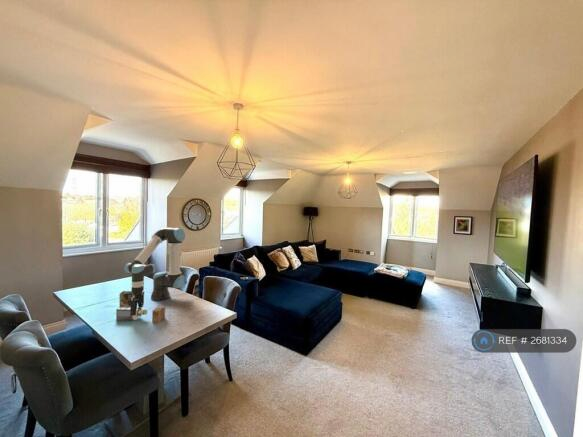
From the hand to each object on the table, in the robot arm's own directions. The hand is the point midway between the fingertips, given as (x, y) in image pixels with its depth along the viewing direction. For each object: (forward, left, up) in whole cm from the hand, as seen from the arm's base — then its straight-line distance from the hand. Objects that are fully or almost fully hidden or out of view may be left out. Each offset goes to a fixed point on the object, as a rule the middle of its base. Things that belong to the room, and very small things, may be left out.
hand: (137, 317), depth 178 cm
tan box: (0, +16, -2) cm, 16 cm away
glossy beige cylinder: (0, -2, +2) cm, 3 cm away
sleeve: (0, -8, -2) cm, 8 cm away
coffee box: (-11, -14, -2) cm, 18 cm away
